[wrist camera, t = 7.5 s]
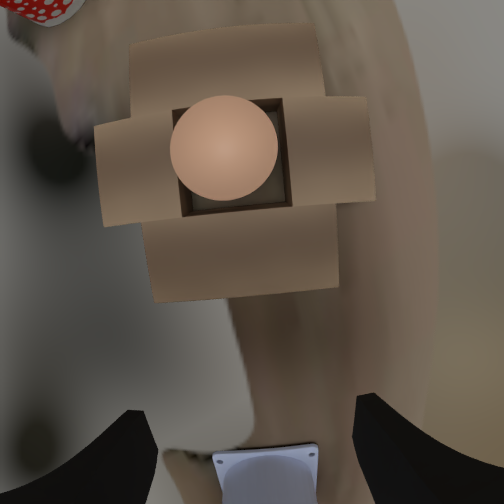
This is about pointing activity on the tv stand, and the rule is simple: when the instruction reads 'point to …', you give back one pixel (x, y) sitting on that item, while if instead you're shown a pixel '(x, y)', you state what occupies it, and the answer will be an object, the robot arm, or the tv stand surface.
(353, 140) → the socket block
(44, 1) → the beverage cup
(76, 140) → the tv stand surface
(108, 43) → the tv stand surface
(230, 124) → the peg
